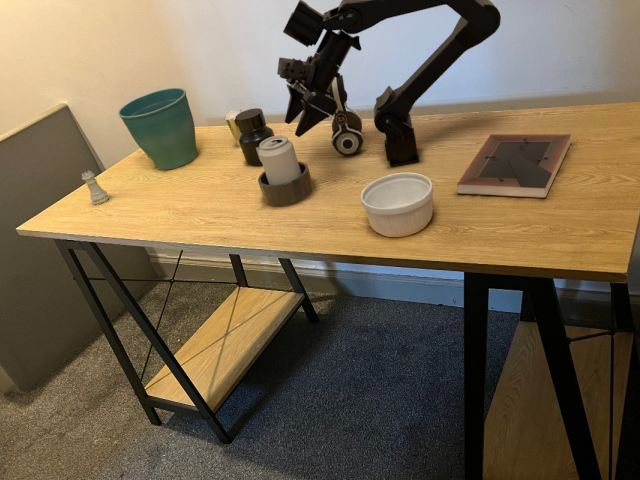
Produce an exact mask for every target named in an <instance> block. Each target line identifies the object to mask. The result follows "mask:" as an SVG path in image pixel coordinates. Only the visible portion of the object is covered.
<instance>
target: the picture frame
mask: <svg viewBox="0 0 640 480" xmlns="http://www.w3.org/2000/svg"><path fill="white" fill-rule="evenodd" d="M571 143H572V134H571V133H569V134H565V133H563V134H559V133H558V134H550V133H549V134H548V133H547V134H545V133H544V134H541V133H540V134H539V133H538V134H536V133H534V134H532V133H531V134H525V133H524V134H517V133H516V134H511V133H510V134H505V133H504V134H497V133H496V134H490V135H489V136H488V137H487V139H486V141H484V144H482V146H481V148H480V149H479V151H478V153H477V154H475V155H476V156H475V157H474V158H473V160H472V161H471V163H470V164H469V166H468V167H467V168H466V170H465V172H464V173H463V175H461V178H460V179H459V180H458V182H457V183H456V188H457V189H456V190H457V193H458V194H462V195H463V194H464V195H482V196H498V197H499V196H502V197H503V196H504V197H505V196H506V197H517V198H518V197H520V198H537V199H538V198H540V199H545V198H546V197H547V195H548V193H549V191H550V188H551V186H552V184H553V182H554V181H555V178H556V176H557V173H558V171H559V169H560V167H561V165H562V163H563V160H564V158H565V156H566V155H567V152H568V150H569V148H570V146H571Z"/></svg>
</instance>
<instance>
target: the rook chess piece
mask: <svg viewBox="0 0 640 480" xmlns="http://www.w3.org/2000/svg"><path fill="white" fill-rule="evenodd" d="M81 180H83V181H84V182H85V185H86V186H87V187H88V190H89V193H90V194H89V195H90V200H91V201H92V202H91V203H92V204H94V205H102V204H105V203H106V202H107V201H108V200H109V198H110V195H109V194H108V192H107V191H106V190H104V189H103V188H102V187H101V186H100V184H99V183H98V181H97V178H95V172H93V171H92V170H87V171H83V172H82V173H81Z"/></svg>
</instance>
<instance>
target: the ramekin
mask: <svg viewBox="0 0 640 480" xmlns="http://www.w3.org/2000/svg"><path fill="white" fill-rule="evenodd" d="M433 194H434V186H433V182H432V180H431V178H430V177H428V176H427V175H424V174H421V173H419V172H411V171H409V172H396V173H391V174H388V175H384V176H381V177H378V178H376V179H374V180H372V181H371V182H369V183H368V184H367V185H366V186H365V187H364V188H363V189H362V191H361V193H360V202H361V206H362V208H363V209H364V211H365V215H366V216H367V219H368V221H369V222H368V223H369V225H370V227H371V228H372V230H374V231H375V232H376V233H378V234H380V235H381V236H384V237H389V238H402V237H409V236H411V235H414V234H416V233H418V232H420V231H422V230H423V229H425V228H426V226H427V225H429V222H430V221H431V220H432V217H433V202H434V201H433Z"/></svg>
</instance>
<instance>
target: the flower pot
mask: <svg viewBox="0 0 640 480" xmlns="http://www.w3.org/2000/svg"><path fill="white" fill-rule="evenodd" d="M117 114H118V117H119V118H120V119H121V120H122V122H123V123H124V125H125V127H126V128H127V130H128V132H129V133H130V136H131V137H132V139H133V140H134V141H135V143H136V144H137V146H138V147H139V148H140V150H142V151H143V152H144V153H145V154H146V155H147V156H148V158H149V159H150V160H151V161H152V163H154V165H155V167H156V168H157V169H159V170H163V171H167V170H173V169H178V168H180V167H183V166H185V165H187V164H189V163H190V162H192V161H193V160H195V158H197V156H198V154H199V150H198V149H197V148H198V147H197V141H196V140H197V139H196V125H195V121H194V117H193V113H192V110H191V107H190V104H189V100H188V96H187V92H186V89H184V88H181V87H172V88H165V89H159V90H156V91H153V92H149V93H147V94H144V95H142V96H139V97H137V98H135V99H133V100H130V101H129V102H128V103H126V104H125V105H123V106H122V107H121V108H120V109H119V110H118V112H117Z"/></svg>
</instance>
